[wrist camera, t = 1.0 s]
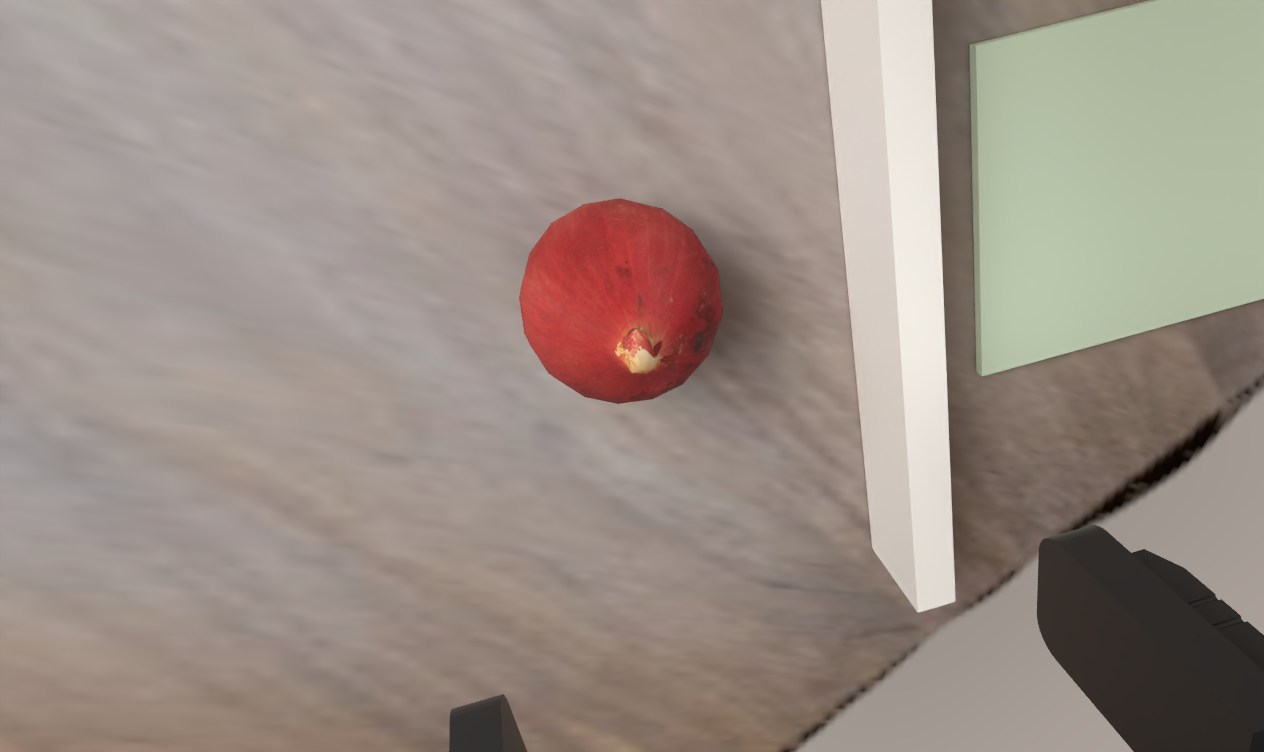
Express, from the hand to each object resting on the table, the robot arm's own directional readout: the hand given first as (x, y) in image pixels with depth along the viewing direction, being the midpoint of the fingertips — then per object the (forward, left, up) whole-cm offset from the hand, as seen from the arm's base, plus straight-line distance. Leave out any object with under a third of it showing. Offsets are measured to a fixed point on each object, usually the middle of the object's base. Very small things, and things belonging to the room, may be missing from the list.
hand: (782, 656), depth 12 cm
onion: (0, 0, -18) cm, 18 cm away
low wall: (+2, +9, -18) cm, 20 cm away
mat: (+2, +19, -18) cm, 26 cm away
